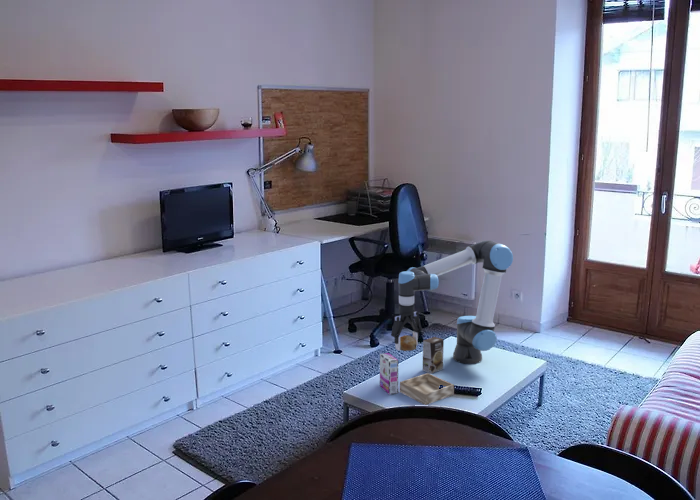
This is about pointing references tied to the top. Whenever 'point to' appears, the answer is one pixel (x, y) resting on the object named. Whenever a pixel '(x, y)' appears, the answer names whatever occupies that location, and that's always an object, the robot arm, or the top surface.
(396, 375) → the candy bar box
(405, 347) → the bread roll
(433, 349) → the coffee box
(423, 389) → the wooden tray
